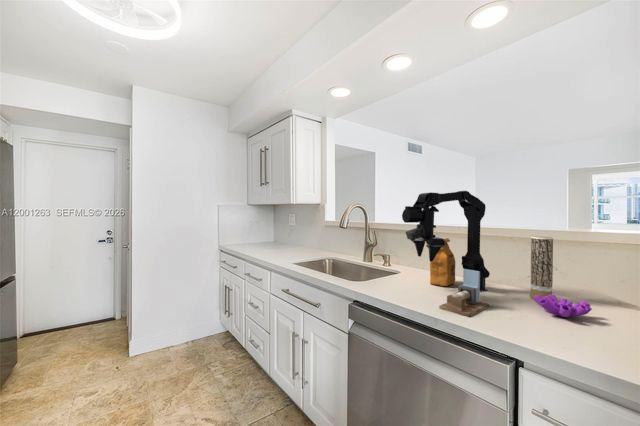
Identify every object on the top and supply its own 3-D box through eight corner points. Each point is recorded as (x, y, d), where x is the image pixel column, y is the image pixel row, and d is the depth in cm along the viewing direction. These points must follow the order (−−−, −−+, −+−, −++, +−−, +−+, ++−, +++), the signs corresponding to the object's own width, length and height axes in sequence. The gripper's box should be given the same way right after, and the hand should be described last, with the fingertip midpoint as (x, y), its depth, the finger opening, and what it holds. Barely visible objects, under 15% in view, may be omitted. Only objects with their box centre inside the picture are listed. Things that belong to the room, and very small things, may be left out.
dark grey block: (460, 299, 102) (460, 284, 102) (475, 303, 98) (475, 288, 98) (458, 300, 101) (458, 285, 101) (473, 304, 97) (473, 288, 97)
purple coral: (589, 335, 85) (585, 314, 82) (531, 319, 97) (525, 300, 94) (596, 307, 90) (592, 287, 87) (540, 295, 102) (535, 277, 99)
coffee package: (459, 284, 131) (459, 238, 131) (447, 288, 123) (448, 240, 123) (438, 280, 139) (439, 237, 139) (426, 284, 131) (427, 238, 131)
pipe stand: (461, 299, 108) (461, 284, 108) (489, 306, 100) (489, 290, 100) (439, 308, 97) (439, 291, 97) (468, 317, 90) (468, 298, 90)
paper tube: (556, 302, 105) (557, 238, 105) (536, 301, 106) (537, 237, 106) (545, 297, 112) (546, 236, 112) (526, 296, 113) (527, 236, 113)
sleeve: (464, 297, 105) (464, 269, 105) (479, 301, 100) (480, 271, 100) (460, 299, 103) (461, 269, 103) (476, 302, 99) (476, 272, 98)
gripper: (398, 220, 123) (397, 254, 124) (420, 224, 105) (418, 264, 106) (421, 220, 125) (420, 254, 126) (446, 224, 106) (444, 264, 107)
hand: (425, 258), depth 116 cm, fingers open, 9 cm apart
